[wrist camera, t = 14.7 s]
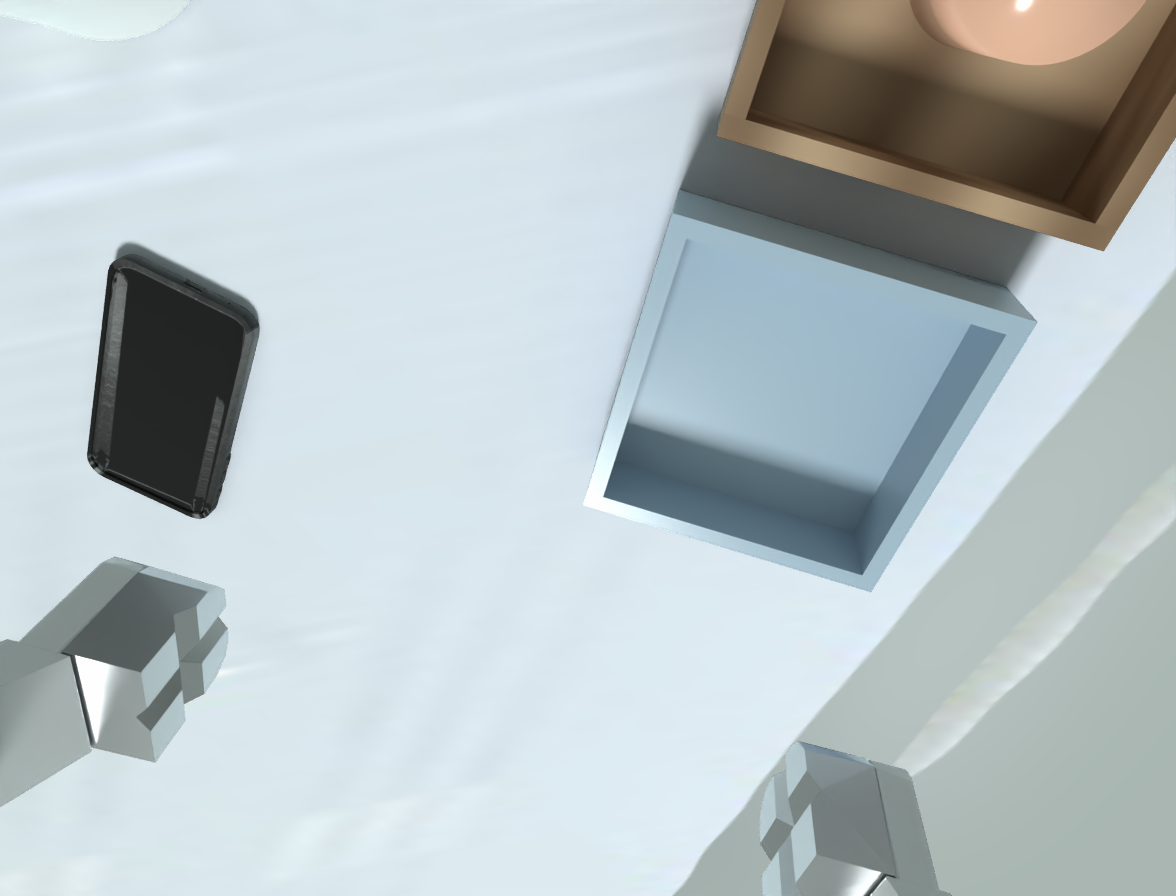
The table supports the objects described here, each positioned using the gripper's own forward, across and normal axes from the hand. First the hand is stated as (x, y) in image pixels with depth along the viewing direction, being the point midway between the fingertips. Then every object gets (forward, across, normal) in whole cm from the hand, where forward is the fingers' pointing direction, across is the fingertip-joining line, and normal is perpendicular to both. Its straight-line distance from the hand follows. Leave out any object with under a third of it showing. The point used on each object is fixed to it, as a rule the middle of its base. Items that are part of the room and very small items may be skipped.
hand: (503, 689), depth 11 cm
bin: (+27, -8, +7) cm, 29 cm away
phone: (+28, +23, +17) cm, 40 cm away
